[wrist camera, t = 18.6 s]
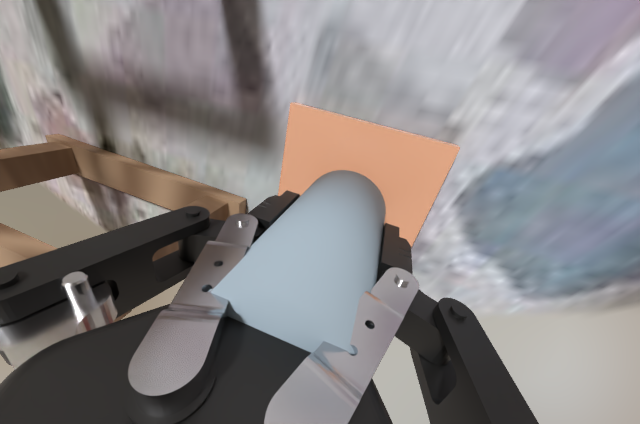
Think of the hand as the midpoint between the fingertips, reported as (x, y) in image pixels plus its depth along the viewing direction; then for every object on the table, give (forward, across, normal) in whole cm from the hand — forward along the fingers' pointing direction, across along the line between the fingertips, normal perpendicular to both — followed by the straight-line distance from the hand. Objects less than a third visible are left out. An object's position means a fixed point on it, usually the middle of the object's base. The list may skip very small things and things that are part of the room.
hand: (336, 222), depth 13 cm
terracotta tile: (+4, 0, 0) cm, 4 cm away
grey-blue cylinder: (+2, 0, 0) cm, 2 cm away
